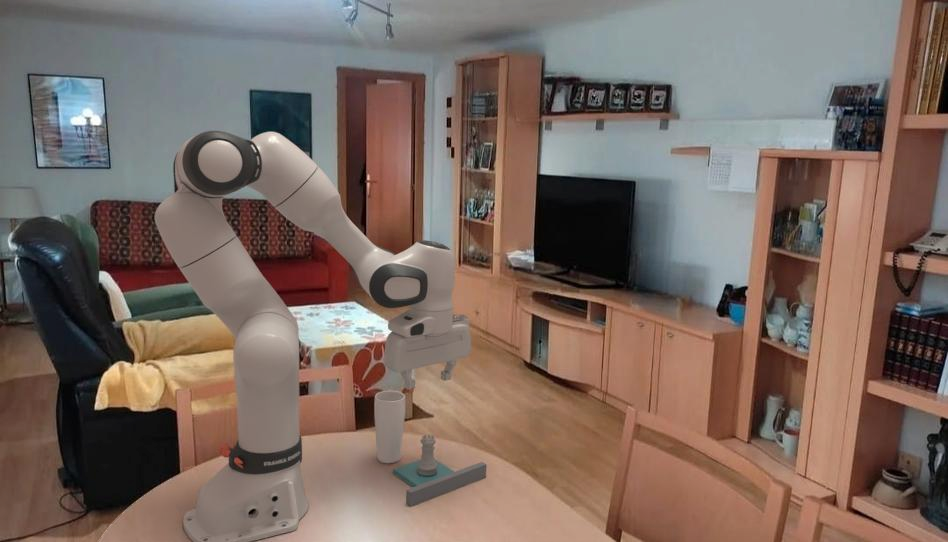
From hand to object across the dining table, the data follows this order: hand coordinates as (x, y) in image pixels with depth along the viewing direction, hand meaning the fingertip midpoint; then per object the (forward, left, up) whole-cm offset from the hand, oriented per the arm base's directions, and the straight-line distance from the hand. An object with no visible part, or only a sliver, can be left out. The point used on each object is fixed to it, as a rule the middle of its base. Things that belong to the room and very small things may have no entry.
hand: (428, 383), depth 145 cm
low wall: (0, -8, -21) cm, 22 cm away
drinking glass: (-2, +11, -21) cm, 24 cm away
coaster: (0, 0, -21) cm, 21 cm away
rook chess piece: (0, -1, -20) cm, 20 cm away
